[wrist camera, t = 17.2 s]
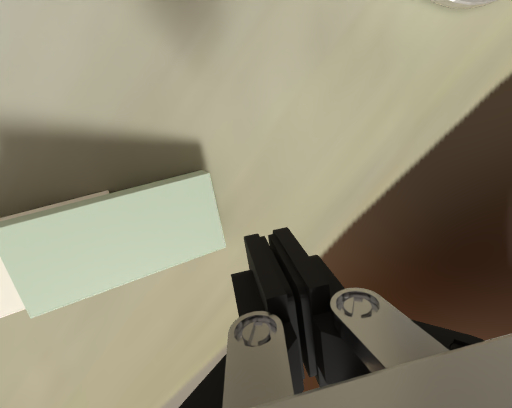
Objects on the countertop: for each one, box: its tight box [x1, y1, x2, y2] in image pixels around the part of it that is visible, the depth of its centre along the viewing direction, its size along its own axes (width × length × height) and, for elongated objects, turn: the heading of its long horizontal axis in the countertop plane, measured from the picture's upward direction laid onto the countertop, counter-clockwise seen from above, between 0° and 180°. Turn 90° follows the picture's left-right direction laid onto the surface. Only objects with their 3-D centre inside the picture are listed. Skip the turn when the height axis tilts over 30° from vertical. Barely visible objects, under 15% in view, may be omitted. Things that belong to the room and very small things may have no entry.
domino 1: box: [0, 190, 110, 318], centre depth 17 cm, size 2×5×11 cm
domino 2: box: [0, 170, 226, 318], centre depth 18 cm, size 2×5×11 cm
